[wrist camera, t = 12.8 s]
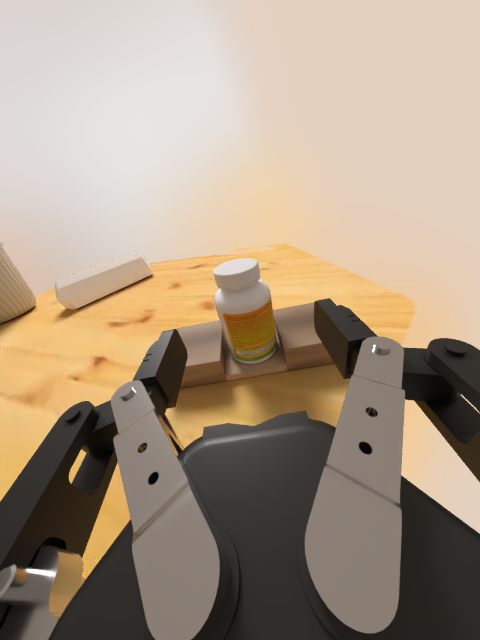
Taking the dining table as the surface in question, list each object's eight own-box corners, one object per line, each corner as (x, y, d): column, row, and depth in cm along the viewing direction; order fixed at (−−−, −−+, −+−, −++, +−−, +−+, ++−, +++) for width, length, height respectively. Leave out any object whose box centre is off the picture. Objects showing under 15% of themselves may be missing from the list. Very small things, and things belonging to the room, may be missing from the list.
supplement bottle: (288, 347, 22) (279, 259, 16) (248, 374, 20) (224, 284, 14) (257, 327, 26) (242, 252, 20) (222, 348, 24) (195, 271, 18)
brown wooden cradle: (347, 361, 19) (350, 337, 18) (172, 389, 21) (160, 370, 19) (320, 321, 25) (321, 301, 24) (185, 346, 27) (177, 328, 25)
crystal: (140, 259, 62) (50, 293, 49) (143, 247, 57) (43, 283, 43) (154, 279, 64) (71, 318, 50) (159, 270, 58) (66, 312, 44)
